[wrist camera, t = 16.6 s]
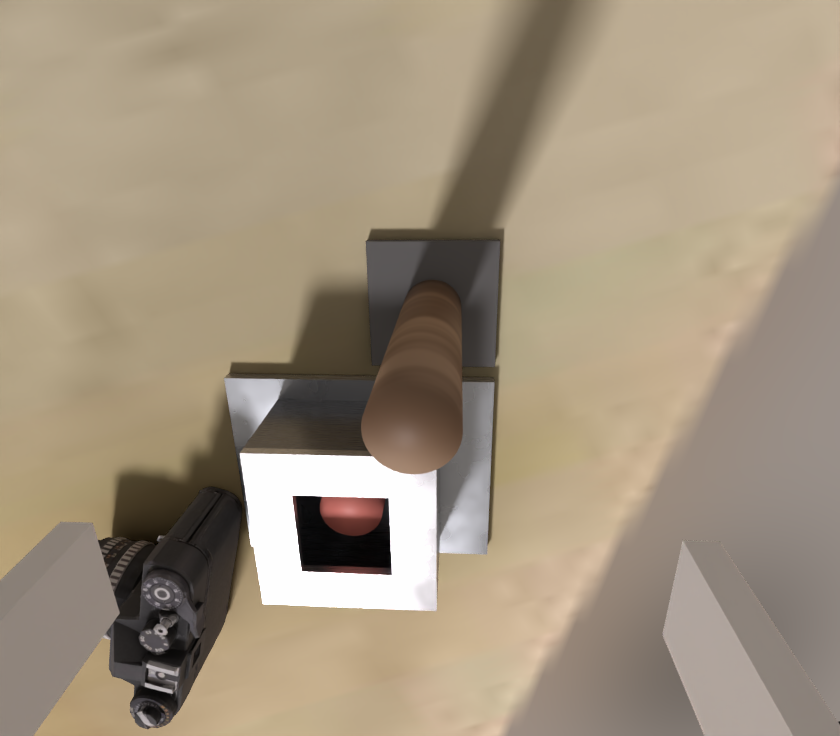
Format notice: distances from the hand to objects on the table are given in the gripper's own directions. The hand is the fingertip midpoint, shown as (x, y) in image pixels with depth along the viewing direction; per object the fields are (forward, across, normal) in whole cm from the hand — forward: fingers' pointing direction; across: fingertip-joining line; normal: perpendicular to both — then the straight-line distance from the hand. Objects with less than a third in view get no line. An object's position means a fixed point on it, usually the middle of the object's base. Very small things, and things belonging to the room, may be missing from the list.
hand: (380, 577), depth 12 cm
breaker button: (+23, -5, -12) cm, 26 cm away
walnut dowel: (+23, 0, -1) cm, 23 cm away
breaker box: (+24, -5, -12) cm, 27 cm away
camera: (+24, -20, -21) cm, 38 cm away
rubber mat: (+24, 0, 0) cm, 24 cm away
